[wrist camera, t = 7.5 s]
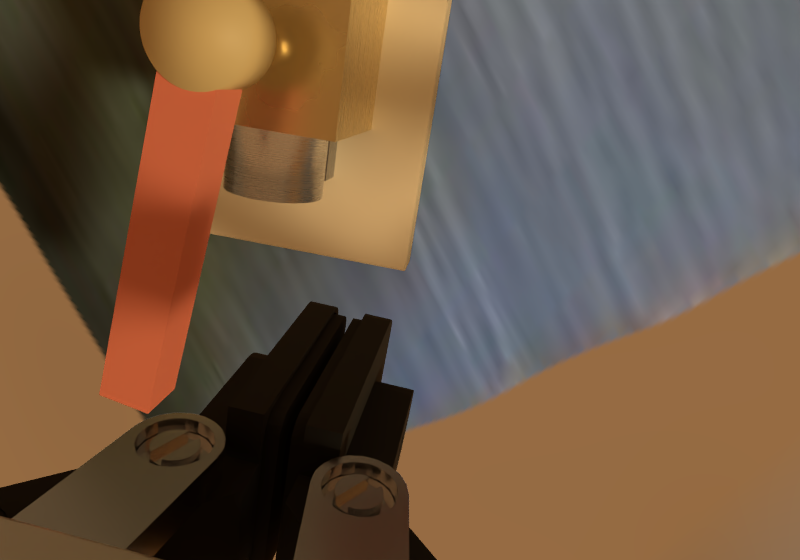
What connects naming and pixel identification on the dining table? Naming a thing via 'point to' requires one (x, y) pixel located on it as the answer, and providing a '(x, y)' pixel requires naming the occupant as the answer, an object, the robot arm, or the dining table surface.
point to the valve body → (306, 99)
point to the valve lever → (179, 181)
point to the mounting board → (365, 159)
